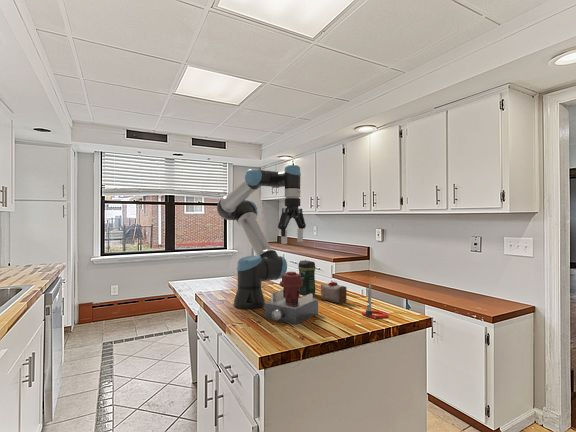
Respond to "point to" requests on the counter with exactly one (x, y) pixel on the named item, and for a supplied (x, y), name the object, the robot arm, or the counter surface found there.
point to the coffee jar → (307, 277)
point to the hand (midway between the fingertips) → (292, 242)
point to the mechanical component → (291, 286)
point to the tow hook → (368, 311)
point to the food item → (334, 292)
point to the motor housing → (291, 308)
